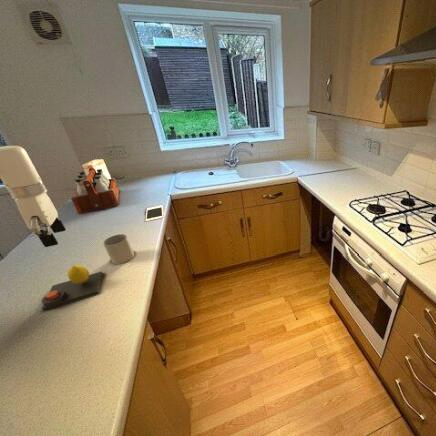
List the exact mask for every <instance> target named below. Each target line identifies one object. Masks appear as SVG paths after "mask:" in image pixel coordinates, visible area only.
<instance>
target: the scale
mask: <svg viewBox="0 0 436 436" xmlns="http://www.w3.org/2000/svg"><path fill="white" fill-rule="evenodd" d="M103 275H104V273H103V271H99V272H94V273H91V274H89V278H88V280H87V281H86V282H85V283H81V284H75V283H73V282H71V281H70V280H67V281H64V282H61V283H57V284H54V285H52V286H51V288H50V291H49V292H51V291H55V290H56V291H58V293H59V294H60V295H59V296H58V297H57V298H55V299H53V300H48V299H47V297H46V295H44V296H43V298H42V299H41V301H40V302H41V303H42V307H41V309H42V311H44V312H45V311H48V310H51V309H54V308H57V307H60V306H63V305H66V304H70V303H73V302H76V301H80V300H82V299H85V298H88V297H91V296H94V295H95V296H96V295H97V294H99V293H100V288H101V284H102V279H103Z"/></svg>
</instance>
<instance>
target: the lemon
mask: <svg viewBox="0 0 436 436" xmlns="http://www.w3.org/2000/svg"><path fill="white" fill-rule="evenodd" d="M89 275H90V272H89V270H88V268H86V267H85V266H83V265H79V264H78V265H72V267H70V268H69V269H68V271H67V277H68V279H69V281H71V282H73V283H75V284H81V283H85V282H86V281H87V280H88V278H89Z"/></svg>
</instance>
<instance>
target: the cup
mask: <svg viewBox="0 0 436 436" xmlns="http://www.w3.org/2000/svg"><path fill="white" fill-rule="evenodd" d="M102 245H103V247H104V249H105V251H106V253H107V255H108V257H109V259H110V261H111V263H112V264H115V265H118V264H119V265H120V264H123V263H127V262H128V261H130V260H131V259H133V258H134V256H135V253H134V250H133V247H132V246H131V243H130V240H129V238H128V236H127V234H124V233H121V234H115V235H112V236H109V237H107V238H106V239H104V240H103V242H102Z"/></svg>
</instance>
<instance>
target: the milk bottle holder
mask: <svg viewBox="0 0 436 436" xmlns="http://www.w3.org/2000/svg"><path fill="white" fill-rule="evenodd" d="M78 173H79V174H78V175H76V177H77V178H76V179H74V181H75V184H76V191H75V192H74V194H73V195H72V196H71V198H70V200H71V202H72V204H73V206H74V208H75V210H76V212H77V213H78V214H83V213H84V214H85V213H88V212H92V211H93V212H96V211H100V210H105V209H107V208H112V207H116V206H117V207H118V206H119V204H120V203H119V194H120V189H119V186H118V184H117V181H116V179H115V178H112V177H111V179H108V178H107V177H106V176H105V175H104V174H103V171H102V169H97V172H96V170H95V169H94V168H90V169H89V174H88V176H87V175H86V173H85V171H80V172H78ZM92 179H93V182H92Z"/></svg>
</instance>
